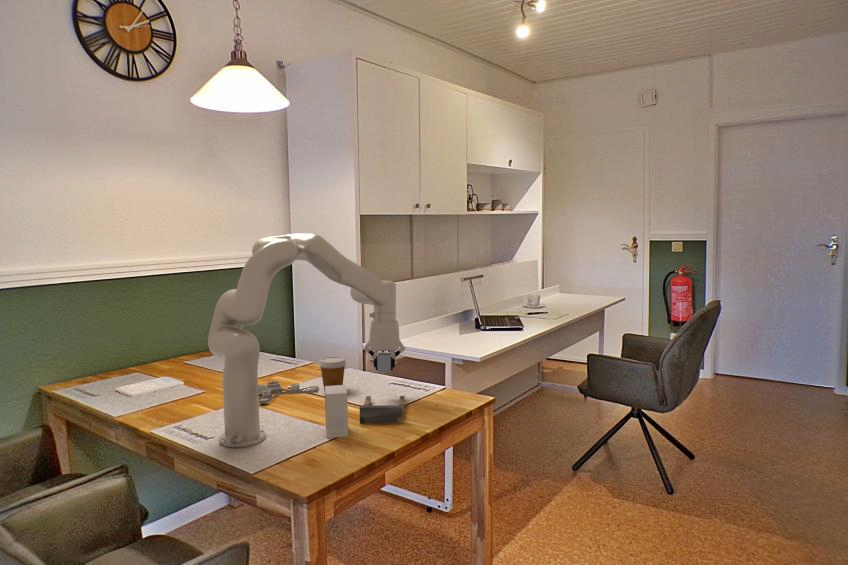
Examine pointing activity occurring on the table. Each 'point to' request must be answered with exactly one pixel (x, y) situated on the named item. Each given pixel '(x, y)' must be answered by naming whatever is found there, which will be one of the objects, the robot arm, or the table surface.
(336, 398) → the small box
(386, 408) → the guide channel
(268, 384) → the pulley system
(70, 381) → the table surface
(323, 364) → the disposable coffee cup
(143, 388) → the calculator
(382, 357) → the block
